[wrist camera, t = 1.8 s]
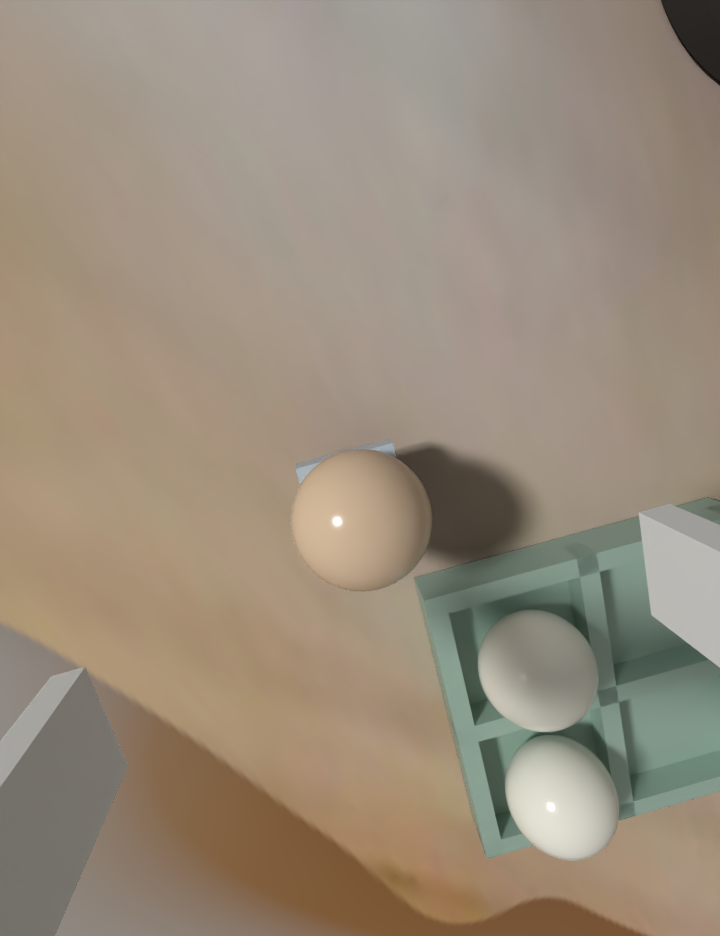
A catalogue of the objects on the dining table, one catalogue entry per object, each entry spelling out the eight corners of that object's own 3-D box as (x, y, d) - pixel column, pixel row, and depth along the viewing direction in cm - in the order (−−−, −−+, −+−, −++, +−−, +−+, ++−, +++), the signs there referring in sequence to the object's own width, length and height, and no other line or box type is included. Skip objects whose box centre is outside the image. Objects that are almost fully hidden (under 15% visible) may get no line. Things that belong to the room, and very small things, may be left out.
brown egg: (401, 423, 22) (429, 447, 17) (428, 539, 23) (462, 595, 18) (278, 456, 22) (266, 491, 16) (312, 570, 23) (311, 636, 18)
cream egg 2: (576, 700, 28) (636, 781, 23) (589, 778, 29) (649, 871, 24) (482, 727, 28) (521, 814, 23) (499, 804, 29) (540, 903, 24)
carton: (708, 497, 27) (746, 511, 25) (729, 744, 31) (764, 778, 29) (414, 577, 27) (424, 600, 24) (473, 818, 31) (486, 858, 28)
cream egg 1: (555, 577, 26) (615, 635, 21) (570, 666, 28) (631, 741, 22) (454, 605, 26) (490, 670, 21) (474, 693, 28) (512, 775, 22)
